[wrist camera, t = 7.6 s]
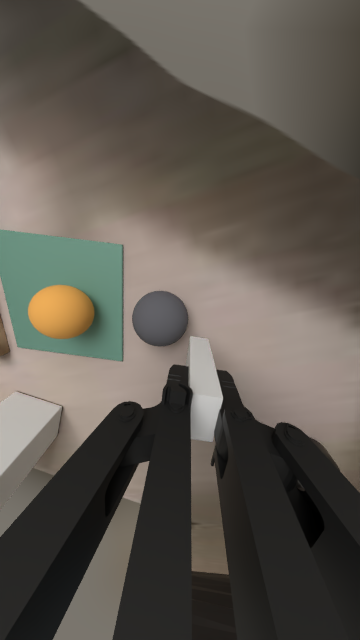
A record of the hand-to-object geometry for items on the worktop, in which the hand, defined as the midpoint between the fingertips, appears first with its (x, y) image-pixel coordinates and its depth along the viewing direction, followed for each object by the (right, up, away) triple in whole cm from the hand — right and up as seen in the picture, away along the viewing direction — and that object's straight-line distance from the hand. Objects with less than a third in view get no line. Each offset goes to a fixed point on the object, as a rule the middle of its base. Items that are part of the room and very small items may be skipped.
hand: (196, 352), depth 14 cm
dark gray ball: (-3, +3, +3) cm, 5 cm away
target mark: (-15, +5, +6) cm, 17 cm away
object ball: (-13, +4, +3) cm, 14 cm away
